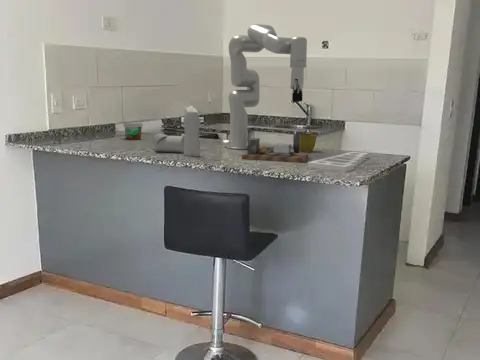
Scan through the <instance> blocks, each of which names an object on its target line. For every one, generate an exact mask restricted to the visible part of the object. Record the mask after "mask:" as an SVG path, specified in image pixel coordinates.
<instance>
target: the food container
mask: <svg viewBox="0 0 480 360" xmlns="http://www.w3.org/2000/svg"><path fill="white" fill-rule="evenodd" d="M122 127H123V128H124V134H125V136H124V137H125V140H127V141H128V140H129V141H138V140H142V129H143V128H142V127H143V123H141V122H140V123H139V122H138V123H132V122H131V123H127V122H123V125H122Z"/></svg>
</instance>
